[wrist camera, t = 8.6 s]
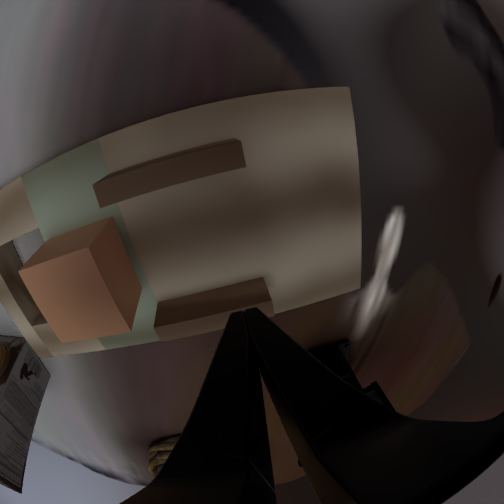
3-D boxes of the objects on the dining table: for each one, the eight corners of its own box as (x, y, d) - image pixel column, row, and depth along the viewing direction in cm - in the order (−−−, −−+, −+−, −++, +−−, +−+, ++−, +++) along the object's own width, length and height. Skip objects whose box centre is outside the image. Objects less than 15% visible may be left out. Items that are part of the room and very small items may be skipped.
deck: (343, 268, 22) (376, 307, 17) (49, 336, 20) (31, 377, 15) (327, 90, 15) (373, 83, 11) (-18, 204, 14) (-58, 230, 9)
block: (142, 288, 16) (131, 331, 13) (80, 303, 16) (61, 343, 13) (112, 216, 14) (88, 247, 11) (48, 239, 14) (18, 271, 10)
